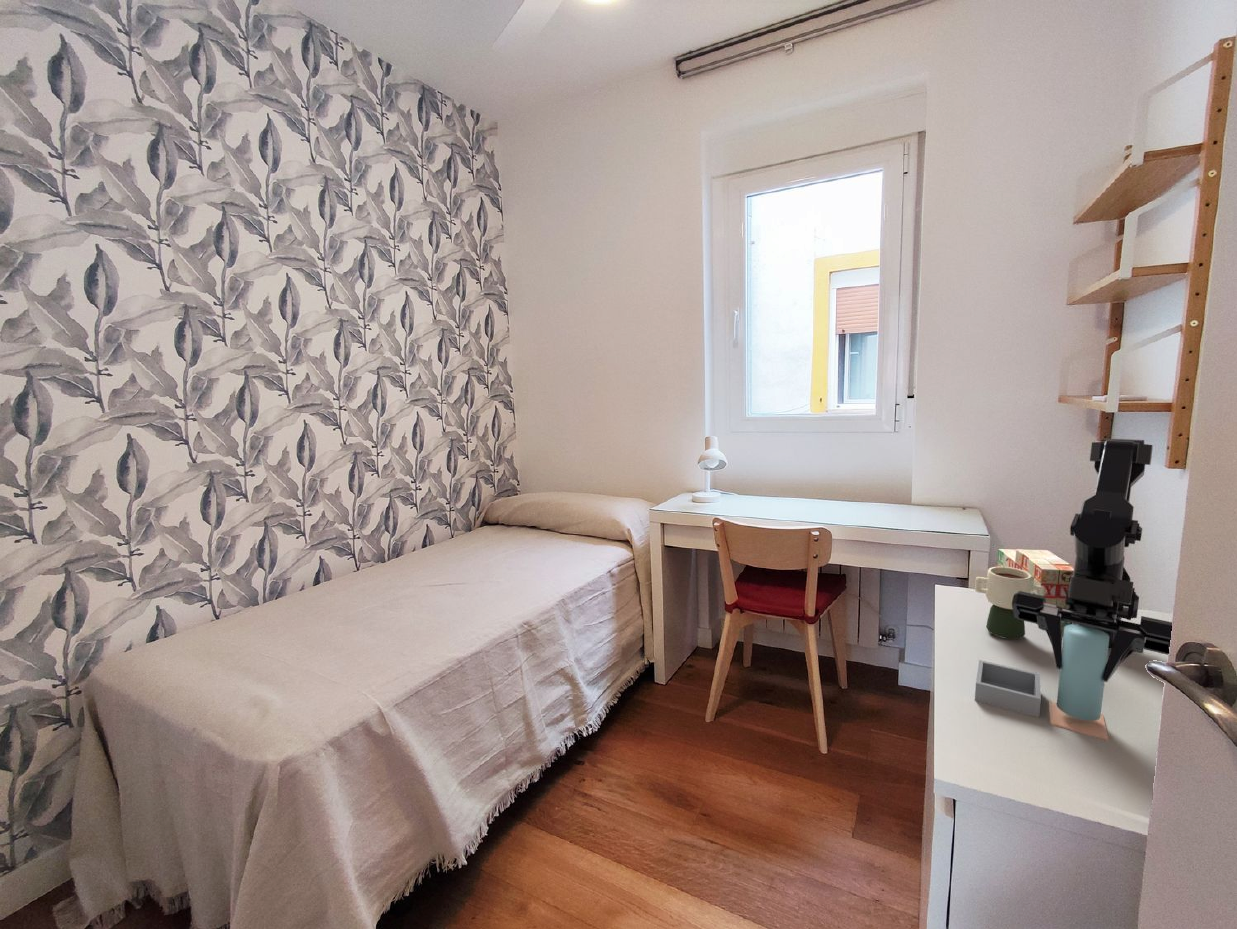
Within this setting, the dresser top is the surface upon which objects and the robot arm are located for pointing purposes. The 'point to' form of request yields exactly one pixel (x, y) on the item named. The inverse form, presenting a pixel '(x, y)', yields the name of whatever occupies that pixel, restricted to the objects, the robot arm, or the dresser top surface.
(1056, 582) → the stack of blocks
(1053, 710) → the terracotta coaster
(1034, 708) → the slate tray
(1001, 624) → the character mug
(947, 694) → the dresser top surface
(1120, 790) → the dresser top surface
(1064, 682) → the teal post
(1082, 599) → the robot arm
